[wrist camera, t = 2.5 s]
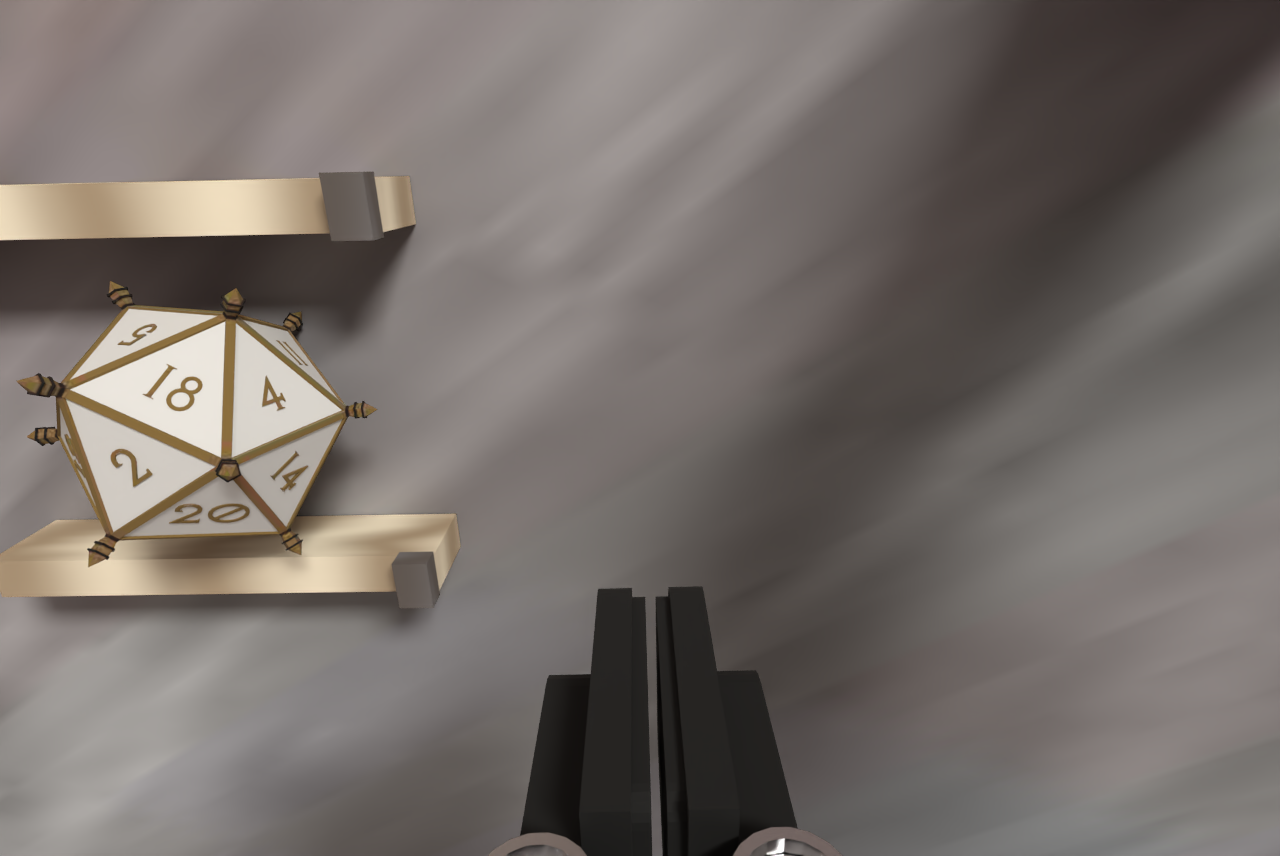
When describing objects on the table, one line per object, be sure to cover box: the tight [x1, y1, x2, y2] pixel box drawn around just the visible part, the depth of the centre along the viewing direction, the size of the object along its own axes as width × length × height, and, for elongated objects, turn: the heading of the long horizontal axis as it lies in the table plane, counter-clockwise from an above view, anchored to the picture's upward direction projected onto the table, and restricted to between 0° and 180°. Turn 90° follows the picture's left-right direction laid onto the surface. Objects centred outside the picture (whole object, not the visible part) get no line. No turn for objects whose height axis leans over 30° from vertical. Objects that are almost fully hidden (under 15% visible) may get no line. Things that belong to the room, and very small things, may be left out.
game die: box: [17, 281, 377, 567], centre depth 21 cm, size 9×8×10 cm
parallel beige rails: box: [0, 172, 461, 608], centre depth 22 cm, size 16×14×4 cm
